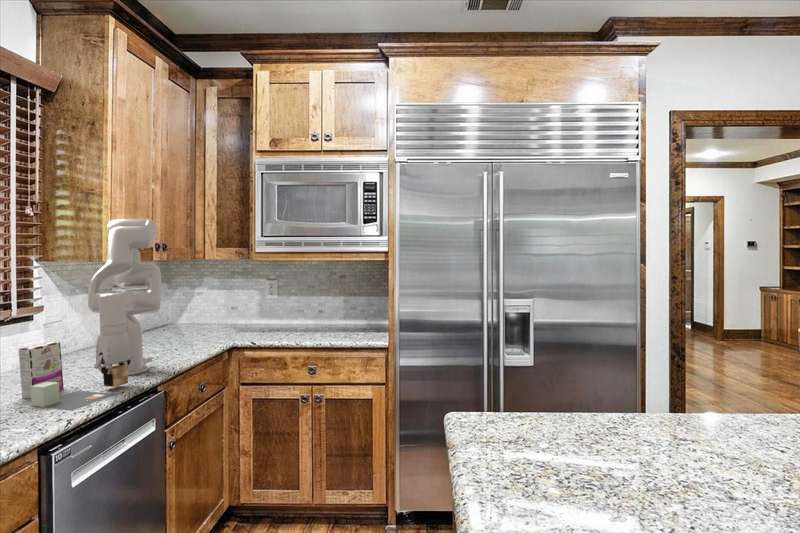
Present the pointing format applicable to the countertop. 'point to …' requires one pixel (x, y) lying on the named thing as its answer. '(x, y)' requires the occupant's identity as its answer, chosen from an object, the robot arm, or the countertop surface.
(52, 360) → the candy bar box
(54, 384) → the sage block
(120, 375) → the oak block
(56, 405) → the mat
